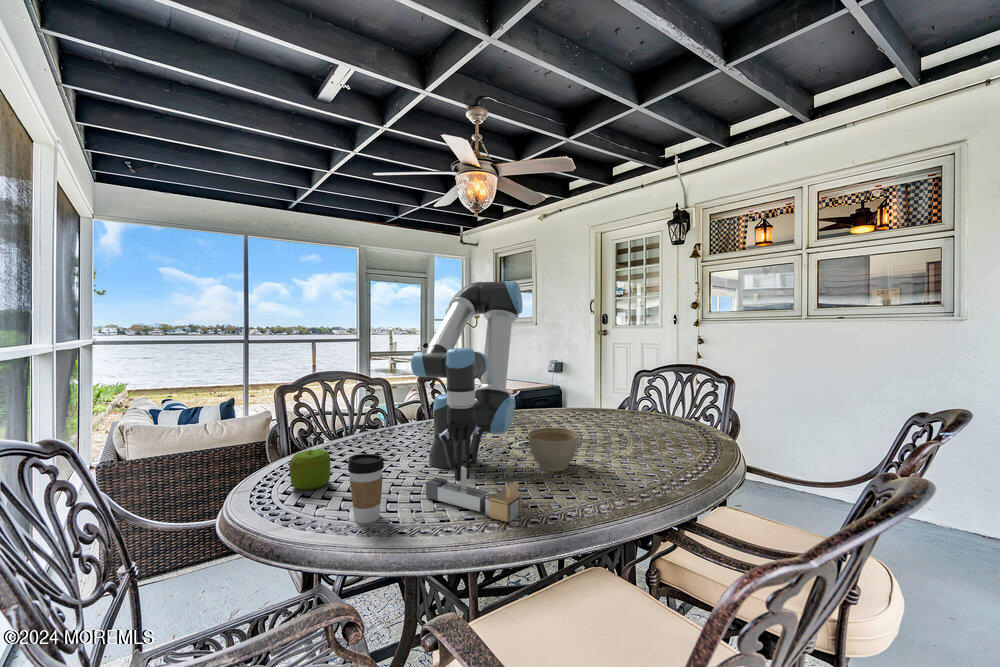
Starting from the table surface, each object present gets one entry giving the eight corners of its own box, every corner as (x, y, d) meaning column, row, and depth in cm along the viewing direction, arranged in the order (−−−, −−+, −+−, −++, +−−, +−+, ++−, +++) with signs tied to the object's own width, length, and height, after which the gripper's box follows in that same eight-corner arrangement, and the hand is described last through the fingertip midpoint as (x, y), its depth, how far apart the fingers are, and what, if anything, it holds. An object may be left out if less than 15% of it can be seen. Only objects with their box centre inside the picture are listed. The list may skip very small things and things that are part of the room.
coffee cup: (353, 511, 111) (352, 452, 111) (387, 509, 112) (386, 451, 112) (344, 526, 103) (343, 463, 103) (381, 525, 104) (380, 462, 103)
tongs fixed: (518, 514, 109) (518, 496, 109) (510, 521, 105) (509, 502, 105) (436, 493, 122) (436, 477, 122) (426, 498, 119) (425, 482, 118)
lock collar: (521, 511, 110) (520, 480, 109) (507, 522, 104) (507, 489, 104) (503, 506, 112) (503, 476, 112) (489, 517, 107) (489, 485, 106)
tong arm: (489, 505, 113) (489, 489, 113) (485, 508, 112) (485, 491, 111) (435, 492, 122) (435, 477, 122) (431, 494, 121) (431, 479, 120)
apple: (322, 476, 136) (321, 441, 136) (337, 485, 128) (337, 448, 128) (284, 486, 128) (283, 449, 128) (298, 497, 121) (297, 457, 120)
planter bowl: (521, 472, 139) (521, 437, 138) (536, 457, 153) (536, 425, 153) (572, 478, 132) (572, 443, 132) (583, 462, 147) (583, 430, 147)
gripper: (476, 400, 126) (476, 482, 127) (433, 405, 119) (434, 491, 120) (488, 405, 119) (489, 491, 120) (444, 411, 113) (445, 501, 114)
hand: (462, 491), depth 120 cm, fingers closed
